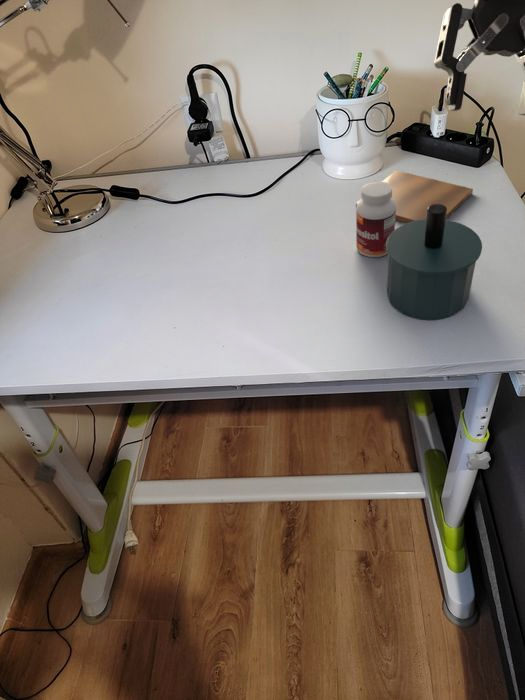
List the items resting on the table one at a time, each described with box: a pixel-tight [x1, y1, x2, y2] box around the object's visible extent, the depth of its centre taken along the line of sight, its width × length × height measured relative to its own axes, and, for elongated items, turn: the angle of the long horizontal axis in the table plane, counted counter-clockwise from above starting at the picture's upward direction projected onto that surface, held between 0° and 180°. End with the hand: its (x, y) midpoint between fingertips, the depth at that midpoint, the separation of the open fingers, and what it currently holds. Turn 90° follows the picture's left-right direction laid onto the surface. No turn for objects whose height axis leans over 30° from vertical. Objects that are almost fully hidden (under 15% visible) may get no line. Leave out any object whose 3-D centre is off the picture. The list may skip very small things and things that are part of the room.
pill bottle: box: [355, 180, 396, 258], centre depth 82 cm, size 6×6×11 cm
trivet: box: [355, 169, 474, 224], centre depth 94 cm, size 16×14×1 cm
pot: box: [386, 257, 477, 321], centre depth 73 cm, size 12×12×8 cm
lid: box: [386, 204, 483, 275], centre depth 68 cm, size 13×13×7 cm
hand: (489, 112), depth 60 cm, fingers open, 8 cm apart
